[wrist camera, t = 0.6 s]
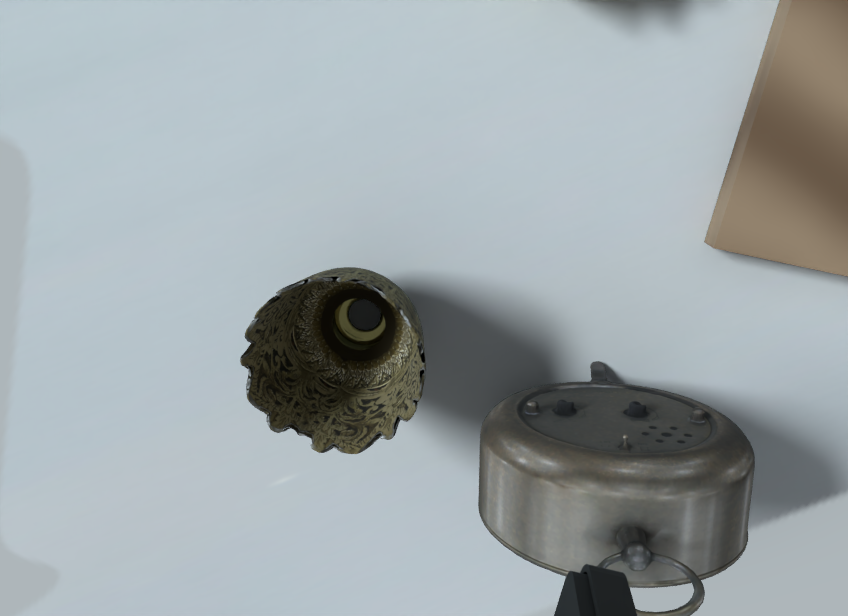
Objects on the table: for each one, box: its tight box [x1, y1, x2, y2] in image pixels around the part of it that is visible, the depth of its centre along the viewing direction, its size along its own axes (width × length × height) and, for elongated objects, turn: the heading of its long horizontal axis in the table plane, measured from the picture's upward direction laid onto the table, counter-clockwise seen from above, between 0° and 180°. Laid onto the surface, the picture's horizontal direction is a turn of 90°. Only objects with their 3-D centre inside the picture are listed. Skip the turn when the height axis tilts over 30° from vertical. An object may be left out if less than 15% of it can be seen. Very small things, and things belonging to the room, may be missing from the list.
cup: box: [240, 267, 426, 454], centre depth 33 cm, size 8×7×8 cm
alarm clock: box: [478, 362, 755, 616], centre depth 29 cm, size 11×5×16 cm, turn 90°
